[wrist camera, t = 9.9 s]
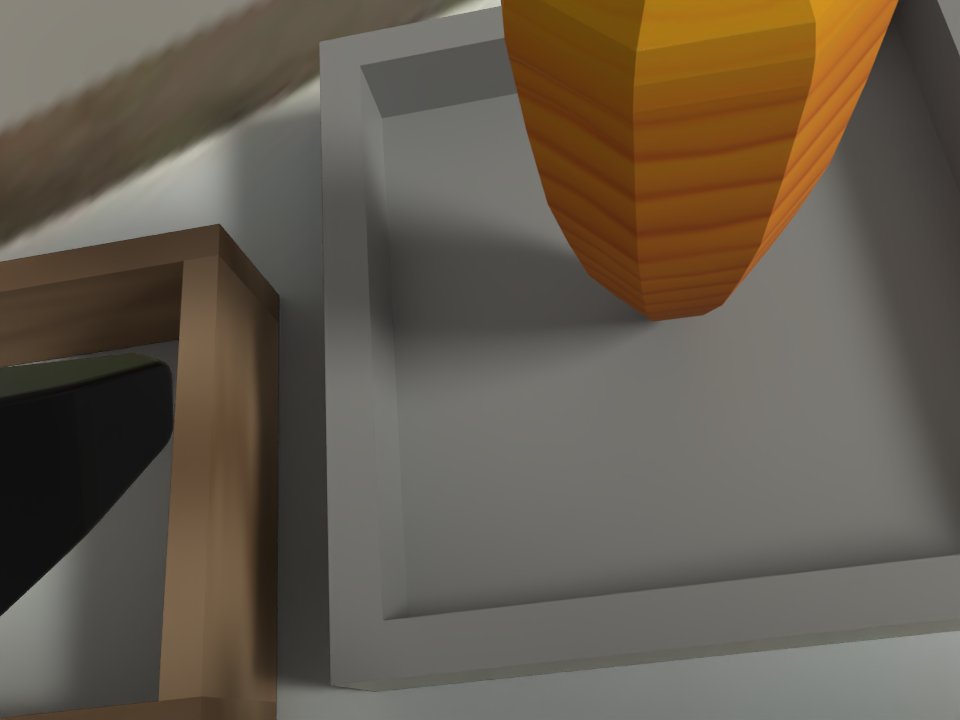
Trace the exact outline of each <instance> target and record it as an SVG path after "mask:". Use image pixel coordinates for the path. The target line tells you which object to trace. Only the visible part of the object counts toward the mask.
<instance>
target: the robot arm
mask: <svg viewBox="0 0 960 720" xmlns="http://www.w3.org/2000/svg"><path fill="white" fill-rule="evenodd" d="M173 423H174V420H173V385H172V373H171V370H170V368H169V366H168V365H167V364H166V363H165V362H163V361H160V360H157V359H154V358H151V357H147V356H144V355H141V354H125V355H115V356H106V357H97V358H87V359H78V360H68V361H59V362H50V363H40V364H31V365H21V366H12V367H3V368H0V616H1V615H2V614H4V613H5V612H6V611H7V610H8V609H9V608H10V607H11V606H12V605H13V604H14V603H15V602H16V601H17V600H18V599H20V598H21V597H22V596H23V595H24V594H25V593H26V592H27V591H28V590H29V589H30V588H31V587H32V586H33V585H35V584H36V583H37V582H38V581H39V580H40V579H41V578H42V577H43V576H44V575H45V574H46V573H47V572H48V571H49V570H51V569H52V568H53V567H54V566H55V565H56V564H57V563H58V562H59V561H60V560H61V559H62V558H63V557H64V556H65V555H67V554H68V553H69V552H70V551H71V550H72V549H73V548H74V547H75V546H76V545H77V544H78V543H79V542H80V541H81V540H82V539H83V538H84V537H85V536H86V535H87V534H88V533H89V532H90V531H91V530H92V529H93V527H94V526H95V525H96V524H97V523H98V522H99V521H100V520H101V519H102V518H103V516H104V515H105V514H106V513H107V512H108V511H109V510H110V508H111V507H112V506H113V505H114V504H115V503H116V502H117V500H118V499H119V498H120V497H121V496H122V495H123V494H124V493H125V491H126V490H127V489H128V488H129V487H130V486H131V485H132V483H133V482H134V481H135V480H136V479H137V478H138V477H139V475H140V474H141V473H142V472H143V471H144V470H145V469H146V468H147V466H148V465H149V464H150V463H151V462H152V461H153V460H154V458H155V457H156V456H157V455H158V454H159V453H160V452H161V450H162V449H163V448H164V447H165V446H166V444H167V443H168V441H169V439H170V437H171V434H172V431H173Z"/></svg>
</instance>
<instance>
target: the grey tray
mask: <svg viewBox="0 0 960 720" xmlns="http://www.w3.org/2000/svg"><path fill="white" fill-rule="evenodd" d="M320 96H321V154H322V213H323V271H324V329H325V388H326V446H327V505H328V563H329V622H330V680H331V685H335V686H342V687H349V688H356V689H363V690H370V691H386V690H396V689H405V688H415V687H424V686H434V685H443V684H453V683H463V682H472V681H482V680H491V679H501V678H510V677H520V676H529V675H539V674H548V673H558V672H567V671H577V670H586V669H596V668H606V667H615V666H625V665H634V664H644V663H653V662H663V661H672V660H682V659H691V658H701V657H710V656H720V655H729V654H739V653H749V652H758V651H768V650H777V649H787V648H796V647H806V646H815V645H825V644H834V643H844V642H853V641H863V640H873V639H882V638H892V637H901V636H911V635H920V634H930V633H939V632H949V631H958V630H960V0H898V3H897V5H896V8H895V10H894V13H893V15H892V18H891V20H890V23H889V26H888V28H887V31H886V33H885V36H884V38H883V41H882V43H881V46H880V48H879V51H878V53H877V56H876V58H875V61H874V64H873V66H872V69H871V71H870V74H869V76H868V79H867V81H866V83H865V86H864V88H863V90H862V92H861V95H860V97H859V99H858V101H857V104H856V106H855V108H854V110H853V113H852V115H851V117H850V119H849V122H848V124H847V126H846V128H845V131H844V133H843V135H842V137H841V139H840V142H839V144H838V146H837V148H836V151H835V153H834V155H833V157H832V160H831V162H830V164H829V165H828V167H827V168H826V170H825V171H824V173H823V174H822V176H821V177H820V179H819V180H818V182H817V183H816V185H815V186H814V188H813V189H812V191H811V192H810V194H809V195H808V197H807V198H806V200H805V201H804V203H803V204H802V206H801V207H800V209H799V210H798V212H797V213H796V215H795V216H794V217H793V218H792V220H791V221H790V222H789V224H788V225H787V226H786V228H785V229H784V230H783V231H782V233H781V234H780V235H779V237H778V238H777V239H776V241H775V242H774V243H773V245H772V246H771V247H770V248H769V250H768V251H767V252H766V254H765V255H764V256H763V257H762V258H761V259H760V261H759V262H758V263H757V264H756V265H755V267H754V268H753V269H752V270H751V271H750V273H749V274H748V275H747V276H746V277H745V279H744V280H743V281H742V282H741V283H740V285H739V286H738V287H737V288H736V289H735V291H734V292H733V293H732V294H731V295H730V297H729V298H728V299H727V300H726V301H725V303H724V304H723V305H722V306H720V307H718V308H716V309H714V310H712V311H710V312H709V313H707V314H705V315H702V316H694V317H686V318H678V319H670V320H662V321H654V322H653V321H651V320H650V319H648V318H647V317H646V316H644V315H643V314H641V313H640V312H638V311H637V310H635V309H634V308H632V307H631V306H629V305H628V304H626V303H625V302H623V301H622V300H620V299H619V298H617V297H616V296H614V295H613V294H612V293H611V292H609V291H608V290H607V289H606V288H604V287H603V286H602V285H600V284H599V283H598V282H597V281H595V280H594V279H593V278H592V277H590V276H589V275H588V273H587V272H586V270H585V268H584V267H583V265H582V264H581V262H580V261H579V259H578V258H577V256H576V255H575V253H574V251H573V250H572V248H571V247H570V245H569V244H568V242H567V240H566V238H565V236H564V234H563V232H562V230H561V228H560V227H559V225H558V223H557V221H556V219H555V217H554V215H553V213H552V211H551V210H550V208H549V206H548V204H547V200H546V197H545V193H544V190H543V187H542V183H541V180H540V176H539V173H538V169H537V166H536V163H535V159H534V156H533V152H532V149H531V145H530V142H529V138H528V135H527V131H526V127H525V123H524V118H523V114H522V110H521V106H520V102H519V98H518V93H517V89H516V85H515V81H514V77H513V73H512V68H511V64H510V60H509V56H508V52H507V47H506V43H505V39H504V28H503V17H502V6H499V7H494V8H489V9H484V10H479V11H474V12H468V13H463V14H458V15H453V16H448V17H443V18H438V19H433V20H428V21H423V22H418V23H413V24H408V25H403V26H397V27H392V28H387V29H382V30H377V31H372V32H367V33H362V34H357V35H352V36H347V37H342V38H337V39H332V40H326V41H321V42H320Z"/></svg>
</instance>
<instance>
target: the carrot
mask: <svg viewBox="0 0 960 720" xmlns="http://www.w3.org/2000/svg"><path fill="white" fill-rule="evenodd" d="M897 3H898V0H501V6H502V17H503V28H504V39H505V43H506V47H507V52H508V56H509V60H510V64H511V68H512V73H513V77H514V81H515V85H516V89H517V93H518V98H519V102H520V106H521V110H522V114H523V118H524V123H525V127H526V131H527V135H528V138H529V142H530V145H531V149H532V152H533V156H534V159H535V163H536V166H537V169H538V173H539V176H540V180H541V183H542V187H543V190H544V193H545V197H546V200H547V204H548V206H549V208H550V210H551V211H552V213H553V215H554V217H555V219H556V221H557V223H558V225H559V227H560V228H561V230H562V232H563V234H564V236H565V238H566V240H567V242H568V244H569V245H570V247H571V248H572V250H573V251H574V253H575V255H576V256H577V258H578V259H579V261H580V262H581V264H582V265H583V267H584V268H585V270H586V272H587V273H588V275H589V276H590V277H592V278H593V279H594V280H595V281H597V282H598V283H599V284H600V285H602V286H603V287H604V288H606V289H607V290H608V291H609V292H611V293H612V294H613V295H614V296H616V297H617V298H619V299H620V300H622V301H623V302H625V303H626V304H628V305H629V306H631V307H632V308H634V309H635V310H637V311H638V312H640V313H641V314H643V315H644V316H646V317H647V318H648V319H650V320H651V321H653V322H654V321H662V320H670V319H678V318H686V317H694V316H702V315H705V314H707V313H709V312H710V311H712V310H714V309H716V308H718V307H720V306H722V305H723V304H724V303H725V301H726V300H727V299H728V298H729V297H730V295H731V294H732V293H733V292H734V291H735V289H736V288H737V287H738V286H739V285H740V283H741V282H742V281H743V280H744V279H745V277H746V276H747V275H748V274H749V273H750V271H751V270H752V269H753V268H754V267H755V265H756V264H757V263H758V262H759V261H760V259H761V258H762V257H763V256H764V255H765V254H766V252H767V251H768V250H769V248H770V247H771V246H772V245H773V243H774V242H775V241H776V239H777V238H778V237H779V235H780V234H781V233H782V231H783V230H784V229H785V228H786V226H787V225H788V224H789V222H790V221H791V220H792V218H793V217H794V216H795V215H796V213H797V212H798V210H799V209H800V207H801V206H802V204H803V203H804V201H805V200H806V198H807V197H808V195H809V194H810V192H811V191H812V189H813V188H814V186H815V185H816V183H817V182H818V180H819V179H820V177H821V176H822V174H823V173H824V171H825V170H826V168H827V167H828V165H829V164H830V162H831V160H832V157H833V155H834V153H835V151H836V148H837V146H838V144H839V142H840V139H841V137H842V135H843V133H844V131H845V128H846V126H847V124H848V122H849V119H850V117H851V115H852V113H853V110H854V108H855V106H856V104H857V101H858V99H859V97H860V95H861V92H862V90H863V88H864V86H865V83H866V81H867V79H868V76H869V74H870V71H871V69H872V66H873V64H874V61H875V58H876V56H877V53H878V51H879V48H880V46H881V43H882V41H883V38H884V36H885V33H886V31H887V28H888V26H889V23H890V20H891V18H892V15H893V13H894V10H895V8H896V5H897Z"/></svg>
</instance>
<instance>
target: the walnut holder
mask: <svg viewBox="0 0 960 720" xmlns="http://www.w3.org/2000/svg"><path fill="white" fill-rule="evenodd" d="M176 339H179V351H178V368H177V386H176V403H175V420H174V438H173V455H172V472H171V489H170V507H169V524H168V541H167V558H166V576H165V593H164V610H163V627H162V645H161V662H160V679H159V697H158V701H154V702H144V703H135V704H126V705H116V706H107V707H98V708H88V709H79V710H70V711H60V712H51V713H41V714H32V715H23V716H13V717H4V718H0V720H276V691H277V538H278V385H279V295H278V294H277V292H276V291H275V290H274V289H273V288H272V286H271V285H270V284H269V283H268V281H267V280H266V279H265V278H264V277H263V275H262V274H261V273H260V272H259V271H258V269H257V268H256V267H255V266H254V265H253V263H252V262H251V261H250V260H249V259H248V257H247V256H246V255H245V254H244V253H243V251H242V250H241V249H240V248H239V247H238V245H237V244H236V243H235V242H234V241H233V239H232V238H231V237H230V236H229V234H228V233H227V232H226V231H225V230H224V228H223V227H222V226H221V225H220V224H215V225H210V226H204V227H198V228H192V229H187V230H181V231H175V232H169V233H164V234H158V235H152V236H146V237H141V238H135V239H129V240H123V241H118V242H112V243H106V244H100V245H95V246H89V247H83V248H78V249H72V250H66V251H60V252H55V253H49V254H43V255H37V256H32V257H26V258H20V259H14V260H9V261H3V262H0V367H6V366H12V365H18V364H25V363H31V362H37V361H43V360H50V359H56V358H62V357H69V356H75V355H81V354H88V353H94V352H100V351H107V350H113V349H119V348H126V347H132V346H138V345H144V344H151V343H157V342H163V341H170V340H176Z"/></svg>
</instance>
